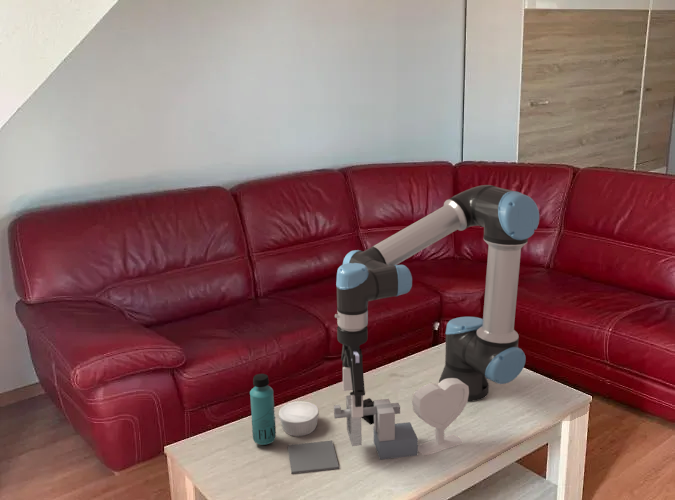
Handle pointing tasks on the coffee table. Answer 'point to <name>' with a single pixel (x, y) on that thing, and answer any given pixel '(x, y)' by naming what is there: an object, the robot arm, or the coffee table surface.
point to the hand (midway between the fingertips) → (352, 402)
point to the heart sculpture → (440, 411)
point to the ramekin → (299, 418)
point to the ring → (353, 425)
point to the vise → (387, 430)
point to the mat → (312, 457)
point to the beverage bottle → (262, 410)
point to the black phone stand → (368, 418)
